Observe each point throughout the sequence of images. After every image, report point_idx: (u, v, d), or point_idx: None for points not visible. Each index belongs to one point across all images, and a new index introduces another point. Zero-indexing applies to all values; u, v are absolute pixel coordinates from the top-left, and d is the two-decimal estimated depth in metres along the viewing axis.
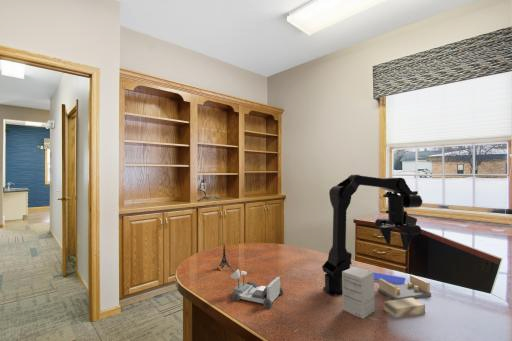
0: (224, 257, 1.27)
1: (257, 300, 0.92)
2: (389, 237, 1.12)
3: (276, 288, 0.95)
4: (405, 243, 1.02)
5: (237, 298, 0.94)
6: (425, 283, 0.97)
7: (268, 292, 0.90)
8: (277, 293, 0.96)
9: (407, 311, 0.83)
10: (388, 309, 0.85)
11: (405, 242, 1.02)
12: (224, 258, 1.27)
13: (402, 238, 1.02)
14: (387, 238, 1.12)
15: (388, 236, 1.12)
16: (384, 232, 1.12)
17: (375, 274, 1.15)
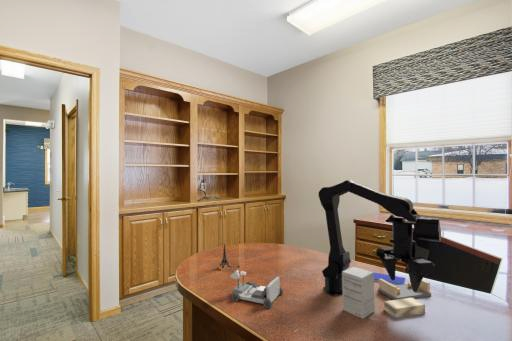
0: (224, 257, 1.27)
1: (257, 301, 0.91)
2: (394, 271, 0.90)
3: (276, 288, 0.95)
4: (414, 283, 0.80)
5: (237, 298, 0.94)
6: (425, 283, 0.97)
7: (268, 292, 0.90)
8: (277, 293, 0.96)
9: (407, 312, 0.83)
10: (388, 309, 0.85)
11: (414, 282, 0.80)
12: (224, 258, 1.27)
13: (411, 277, 0.80)
14: (391, 272, 0.90)
15: (392, 270, 0.90)
16: (387, 265, 0.90)
17: (375, 274, 1.15)
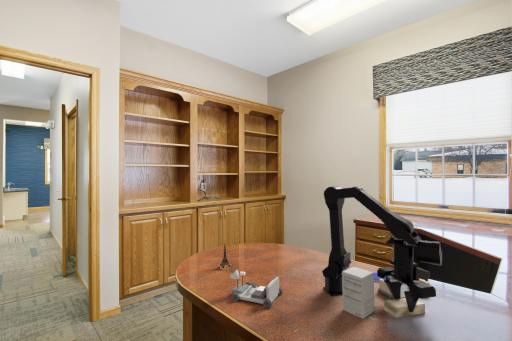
0: (225, 257, 1.28)
1: (257, 301, 0.91)
2: (399, 295, 0.88)
3: (276, 288, 0.95)
4: (410, 304, 0.82)
5: (236, 299, 0.94)
6: None
7: (268, 292, 0.90)
8: (276, 293, 0.96)
9: (407, 311, 0.83)
10: (388, 309, 0.85)
11: (410, 303, 0.82)
12: (225, 258, 1.28)
13: (407, 298, 0.82)
14: (396, 296, 0.88)
15: (397, 294, 0.88)
16: (392, 289, 0.88)
17: (375, 274, 1.15)
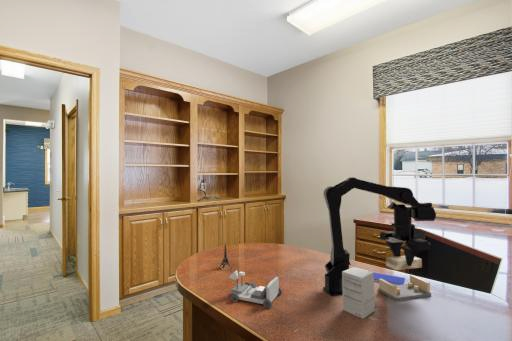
0: (225, 256, 1.28)
1: (256, 301, 0.91)
2: (399, 253, 1.01)
3: (275, 288, 0.95)
4: (409, 258, 0.94)
5: (236, 299, 0.94)
6: (425, 283, 0.97)
7: (268, 292, 0.90)
8: (276, 293, 0.96)
9: (406, 264, 0.95)
10: (389, 263, 0.98)
11: (409, 257, 0.94)
12: (225, 257, 1.28)
13: (405, 253, 0.94)
14: (396, 254, 1.01)
15: (398, 252, 1.01)
16: (393, 248, 1.01)
17: (375, 274, 1.15)
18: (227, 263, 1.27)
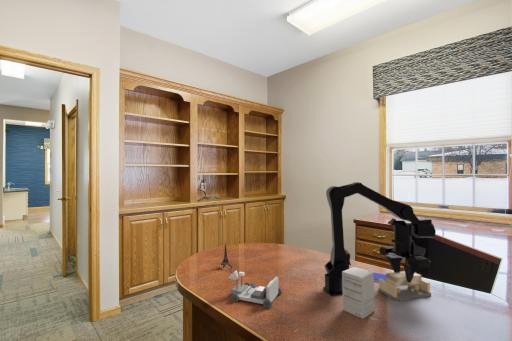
0: (225, 256, 1.28)
1: (256, 301, 0.91)
2: (398, 269, 1.01)
3: (275, 288, 0.95)
4: (409, 275, 0.95)
5: (236, 299, 0.93)
6: (425, 283, 0.97)
7: (268, 292, 0.90)
8: (276, 293, 0.96)
9: (406, 281, 0.96)
10: (389, 279, 0.98)
11: (409, 274, 0.95)
12: (225, 257, 1.28)
13: (405, 270, 0.95)
14: (396, 269, 1.01)
15: (397, 268, 1.01)
16: (393, 263, 1.01)
17: (375, 274, 1.15)
18: (227, 263, 1.28)
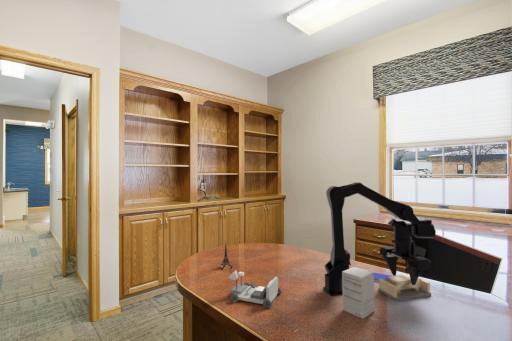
0: (226, 256, 1.28)
1: (256, 301, 0.91)
2: (395, 268, 1.03)
3: (275, 288, 0.95)
4: (413, 278, 0.93)
5: (236, 299, 0.93)
6: (425, 283, 0.97)
7: (267, 292, 0.90)
8: (275, 293, 0.96)
9: (406, 284, 0.96)
10: None
11: (413, 277, 0.93)
12: (226, 257, 1.28)
13: (410, 272, 0.93)
14: (392, 268, 1.03)
15: (394, 267, 1.03)
16: (389, 262, 1.03)
17: (375, 274, 1.15)
18: (227, 263, 1.28)
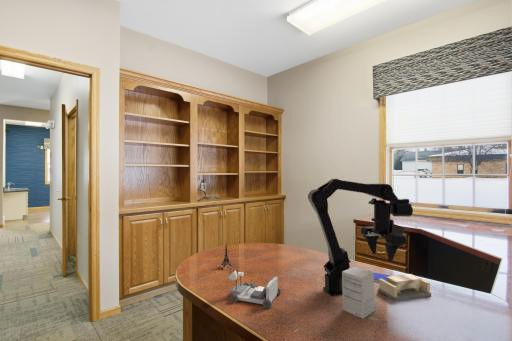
0: (226, 256, 1.29)
1: (256, 301, 0.91)
2: (375, 246, 1.06)
3: (274, 288, 0.95)
4: (390, 254, 0.96)
5: (235, 299, 0.93)
6: (425, 283, 0.97)
7: (267, 292, 0.90)
8: (275, 293, 0.96)
9: (406, 284, 0.96)
10: None
11: (390, 253, 0.96)
12: (226, 257, 1.28)
13: (387, 248, 0.95)
14: (372, 247, 1.06)
15: (374, 245, 1.06)
16: (369, 241, 1.06)
17: (374, 274, 1.15)
18: (228, 263, 1.28)
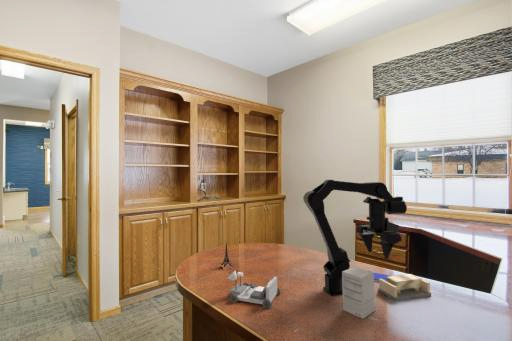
0: (226, 256, 1.29)
1: (256, 301, 0.91)
2: (370, 245, 1.07)
3: (274, 288, 0.95)
4: (385, 252, 0.96)
5: (235, 300, 0.93)
6: (425, 283, 0.97)
7: (267, 293, 0.89)
8: (275, 293, 0.96)
9: (406, 284, 0.96)
10: None
11: (385, 251, 0.96)
12: (226, 257, 1.29)
13: (382, 246, 0.96)
14: (368, 245, 1.07)
15: (369, 243, 1.07)
16: (365, 239, 1.07)
17: (374, 274, 1.15)
18: (228, 262, 1.28)
